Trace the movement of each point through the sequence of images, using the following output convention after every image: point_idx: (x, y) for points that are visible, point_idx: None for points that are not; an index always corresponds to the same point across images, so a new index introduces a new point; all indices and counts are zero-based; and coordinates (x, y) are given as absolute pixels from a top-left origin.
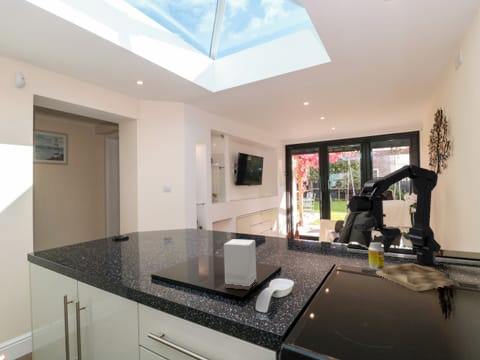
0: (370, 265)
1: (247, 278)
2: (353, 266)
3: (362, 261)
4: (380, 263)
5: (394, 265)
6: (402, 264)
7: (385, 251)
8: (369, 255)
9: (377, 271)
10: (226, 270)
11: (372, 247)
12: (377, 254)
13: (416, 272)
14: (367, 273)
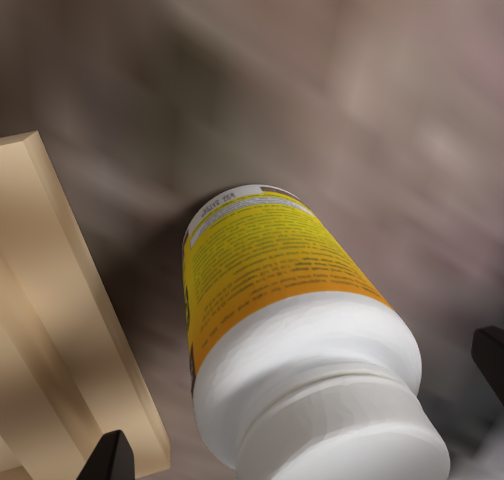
0: (250, 192)
1: None
2: (362, 32)
3: (463, 224)
4: (184, 286)
5: (24, 369)
6: (69, 443)
7: (92, 458)
8: (301, 243)
9: (4, 145)
10: None
11: (316, 367)
12: (196, 330)
13: (5, 457)
14: (93, 53)
